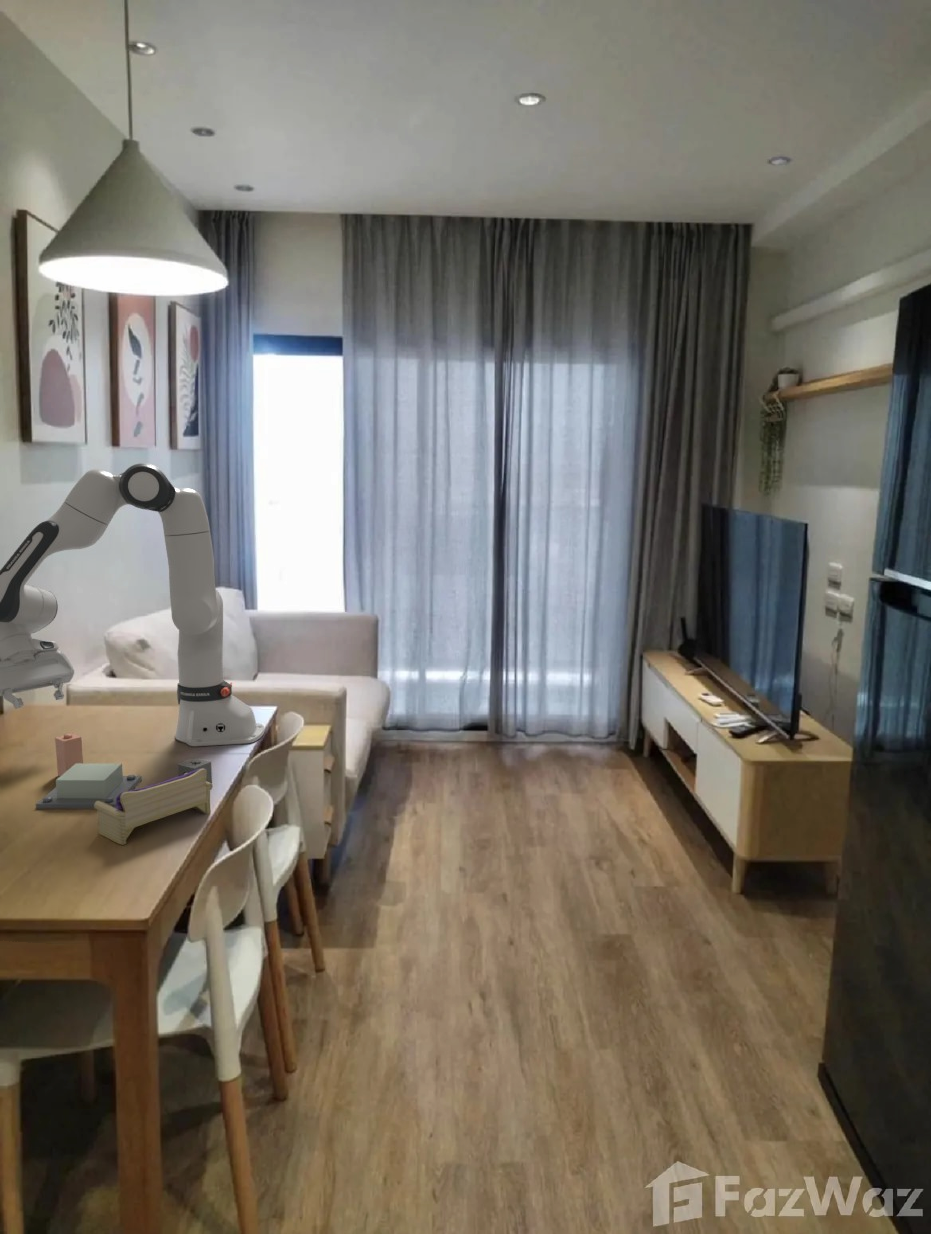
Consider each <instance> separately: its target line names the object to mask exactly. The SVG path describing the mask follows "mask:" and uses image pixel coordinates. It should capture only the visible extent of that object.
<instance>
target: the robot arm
mask: <svg viewBox="0 0 931 1234" xmlns="http://www.w3.org/2000/svg"><path fill="white" fill-rule="evenodd" d="M126 505H130V506H133V507H135V508H138V509H141V510H147V511H152V512H157V513H158V514H159V517H160V518H161V524H162V528H163V536H164V542H165V550H166V556H167V557H166V558H167V562H168V563H167V564H168V580H169V581H168V582H169V599H170V610H171V619H172V620H171V621H172V622H173V625H174V627H176V628H177V630H178V645H177V671H178V672H177V673H178V682H177V686H176V687H177V688H176V697H177V703H178V705H179V706H178V721H177V727H176V730H175V735H174V737H175V740H177V741H179V742H182V743H186V744H187V746H190V747H203V746H204V747H205V746H206V747H207V746H219V745H220V746H222V745H223V746H224V745H242V744H250V743H254V742H257V740H259V739H261V738H262V737H263V735H264V734H265V726H264V725H263V724H262V723H258V722H257V723H256V717H255V714H254V711H253V709H252V707H251V706H250V705H248V704H247V703H245V702H243V701H242V700H241V699H239V698H237V697H236V696H234V695H233V692H232V691H233V690H232V689H233V688H232V687H233V682H230V683H229V682H227V681H226V680H224V659H223V658H224V657H223V656H224V655H223V644H224V643H223V642H224V641H223V640H224V638H223V637H224V602H223V598H222V596H221V593H220V592H219V590H218V589H216V575H215V556H214V550H213V548H214V547H213V541H212V534H211V527H210V523H209V518H208V513H207V509H206V507H205V503H204V501H203V497H202V495H201V494H200V493H199V492H198V491H197V490H195V489H192V488H189V487H175V486H174V485H173V484H172V483H171V482H170V480H169V479H168V477H167V475H166V474H165V472H164V471H163V470H162V469H161V468H160V467H158V466H157V465H154V464H152V463H148V462H137V463H134V464H133V465H131V466H129V467H128V468H127V469H126V470H125V471H124V472H121V473H120V474H118V475H117V474H113V473H111V472H110V471H107V470H103V469H97V468H94V469H90V470H88V471H86V472H85V473H84V474H83V475H82V476H81V478H80V479H79V480H78V481H77V482H76V483H75V485H74V486H73V488H72V489H71V490H70V492H69V493H68V495H67V496H66V498H65V499H64V501H63V503H62V505H61V506H60V507H59V508H58V509H57V510H56V512H55V513H54V514H53V515H52V516H51V517H49V518H48V519H46V520H45V521H42V522H40V523H39V524H37V525H36V526H35V527H34V528H33V529H32V530H31V532H29V533H28V535H27V536H26V538H24V540H23V541H22V542H21V544H20V545H19V546H18V548H16V550H15V551H14V552H13V554H12V555H11V556H10V557H9V559H8V560H7V561H6V563H4V565H3V567H1V569H0V697H2V696H3V699H4V700H6V701H8V702H9V703H11V704H12V705H13V707H14V709H21V708H23V706H24V702H23V699H22V697H19V698H17V697H16V696H15V695H14V694H16V693H22V692H27V691H33V690H37V689H42V688H47V687H54V689H57V690H55V691H54V693H53V697H54V699H55V701H58V700H60V701H61V700H63V699H64V697H65V694H64V692H63V688H64V684H68V683H70V682H71V681H72V679H73V678H74V675H75V669H74V667H73V664H71V662H70V659H68V657H67V655H66V654H65V653H64V652H63V651H60V650H59V647H60V646H59V644H58V643H57V642H56V641H52V640H42V639H36V638H33V637H32V634H35V633H37V632H39V631H41V630H43V629H44V628H46V627H47V626H49V625H50V624H51V623H52V622H53V621H54V620H55V618H56V617H57V614H58V609H59V608H58V606H59V605H58V600H57V598H56V596H55V595H54V593H53V592H51V591H49V590H47V589H43V588H41V587H38V586H34V585H28V584H27V582H28V581H29V580H30V578H31V577H32V576H33V575H34V574H35V572H36V571H37V570H38V568H39V567H40V565H41V564H42V563H43V562H44V560H45V559H47V558H48V557H50V556H51V555H53V554H55V553H59V552H63V551H70V550H82V549H86V548H89V547H91V546H93V545H95V544H96V543H97V542H98V541H99V540H100V538H102V536H103V535H104V533H105V532H106V530H107V528H108V526H109V525H110V523H111V521H112V519H113V518H114V516H115V514H116V513H117V512H118V511H119V510H120V509H121V508H122V507H124V506H126Z"/></svg>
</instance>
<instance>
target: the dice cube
mask: <svg viewBox="0 0 931 1234" xmlns="http://www.w3.org/2000/svg"><path fill="white" fill-rule="evenodd" d="M201 768H204V769H206V770H207V777H206V781H207V782H209V783H211V784H213V777H212V774H213V773H212V762H211V761H210V760H205V759H202V758H197V757H193V758H191V759H187V760H186V761H183V762H180V763H178V764H177V777H179V776H182V775H184V774H185V773H189V772H192V771H194V770H198V769H201Z"/></svg>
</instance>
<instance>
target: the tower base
mask: <svg viewBox="0 0 931 1234" xmlns="http://www.w3.org/2000/svg"><path fill="white" fill-rule="evenodd" d="M142 780H143V777H142V775H135V774H129V775H123V763H95V762H94V763H91V762H89V763H85V762H83V763H76V764H75V765H74V766H72V767H71V768H70V769H69V770H67V771H66V772H65V773H64V774H63V775H61V776H58V777H57V778H56V779H55V787H54V788H53V789H52V790H50V791H49V792H48V793H47V794H46V795H45V796H43V797H42V798H41V799H40V800H39V801H38V802H36V803H35V809H36V810H37V809H38V810H39V809H40V810H41V809H42V810H43V809H51V810H52V809H53V810H54V809H55V810H58V809H60V810H63V809H65V810H66V809H68V810H70V809H71V810H75V809H76V810H77V809H78V810H83V809H85V810H88V809H89V810H92V809H93V810H96V809H95V807H94V804H95V802H96V801H101V802H103V803H105V804H108V805H110V806H112V807H117V803H116V798H117V796H118V795H119V794H120V793H121V792H125V791H130V790H134V789H136V787H137V786H138V785H139V784H140V783H141V781H142Z"/></svg>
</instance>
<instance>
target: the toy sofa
mask: <svg viewBox="0 0 931 1234" xmlns="http://www.w3.org/2000/svg"><path fill="white" fill-rule="evenodd" d="M206 777H207V770H206V769H204V768H201V769H198V770H194V771H192V772H189V773H185V774H184V775H182V776H179V777H178V776H176V777H172V778H169V779H167V780H165V781H161V782H158V783H154V784H151V785H148V786H143V787H140V788H134V789H133V790H130V791H125V792H121V793H120V794H119V795H118V796H117V798H116V803H117V807H112V806H110V805H108V804H105V803H103V802H101V801H96V802H95V804H94V807H95V809H94V810H97V821H98V823H97V824H98V828H97V829H98V834H99V835H101V836H103V837H105V838H107V839H109V840H111V841H112V842H115V843H116V844H118V845H122V846H123V845H126V844H127V840H128V838H129V837H130V834H131V833H132V832H133V830H135V828H137V827H140V826H143V825H146V824H148V823H151V822H153V821H156V820H159V819H162V818H166V817H169V816H171V815H174V814H177V813H180V812H183V811H187V810H190V809H194V810H196V811H198V812H201V813H203V814H205V815H210V814H211V790H212V789H213V783H209V782H207V781H206Z"/></svg>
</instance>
